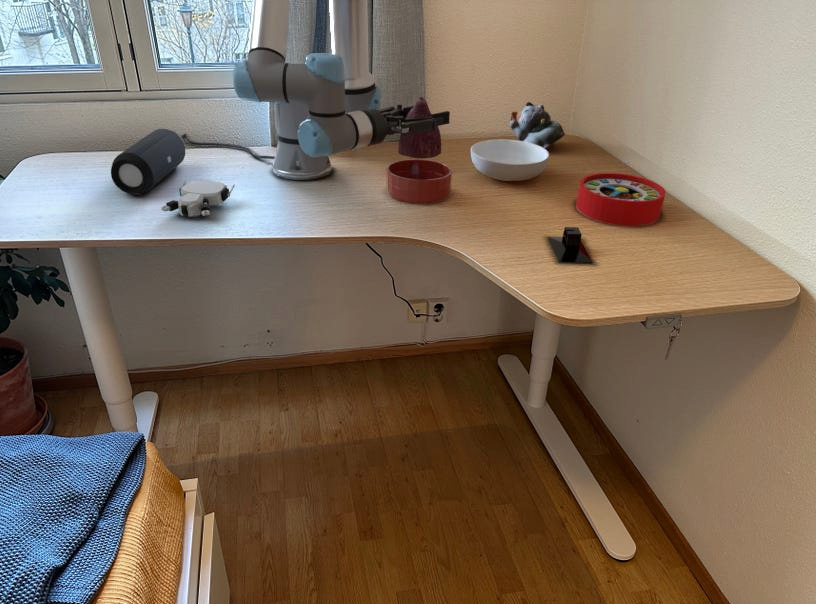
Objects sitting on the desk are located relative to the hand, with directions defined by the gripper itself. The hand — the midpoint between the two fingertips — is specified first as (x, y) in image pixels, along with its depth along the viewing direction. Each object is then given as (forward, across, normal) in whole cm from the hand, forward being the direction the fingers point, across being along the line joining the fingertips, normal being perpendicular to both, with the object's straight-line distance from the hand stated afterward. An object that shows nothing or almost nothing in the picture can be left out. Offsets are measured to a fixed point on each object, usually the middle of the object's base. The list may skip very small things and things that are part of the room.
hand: (435, 113), depth 157 cm
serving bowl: (+23, +6, -19) cm, 30 cm away
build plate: (-4, +45, -19) cm, 49 cm away
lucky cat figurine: (+51, -6, -18) cm, 55 cm away
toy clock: (+25, +39, -19) cm, 50 cm away
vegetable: (-5, 0, -9) cm, 10 cm away
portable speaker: (-51, -48, -19) cm, 73 cm away
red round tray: (-5, 0, -19) cm, 19 cm away
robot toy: (-52, -24, -19) cm, 60 cm away
